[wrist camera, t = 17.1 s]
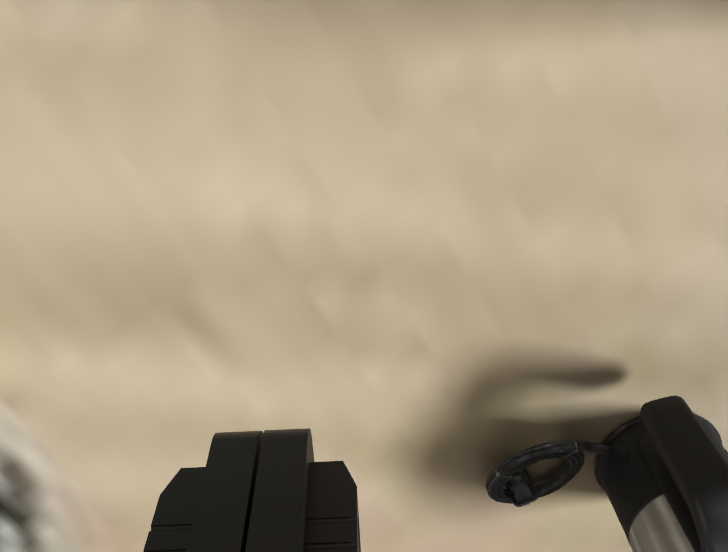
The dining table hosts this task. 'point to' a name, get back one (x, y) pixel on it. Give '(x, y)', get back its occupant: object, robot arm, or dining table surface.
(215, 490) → the robot arm
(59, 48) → the dining table surface
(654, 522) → the milk frother
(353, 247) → the dining table surface
